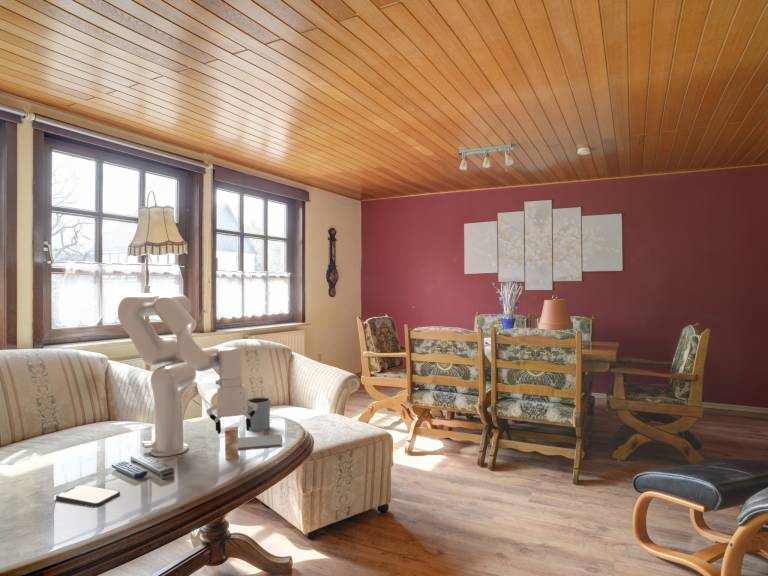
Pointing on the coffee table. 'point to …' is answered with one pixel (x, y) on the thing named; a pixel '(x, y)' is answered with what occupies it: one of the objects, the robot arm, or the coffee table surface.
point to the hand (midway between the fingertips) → (233, 431)
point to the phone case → (87, 495)
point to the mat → (259, 441)
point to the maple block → (231, 442)
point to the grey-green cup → (260, 414)
